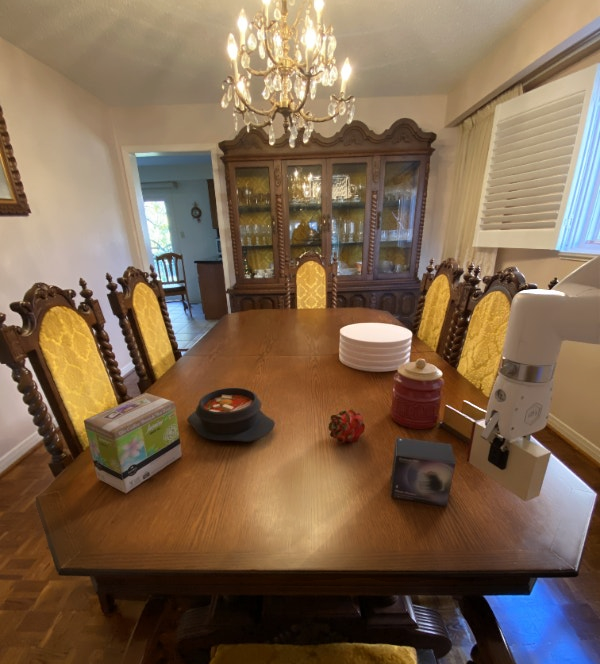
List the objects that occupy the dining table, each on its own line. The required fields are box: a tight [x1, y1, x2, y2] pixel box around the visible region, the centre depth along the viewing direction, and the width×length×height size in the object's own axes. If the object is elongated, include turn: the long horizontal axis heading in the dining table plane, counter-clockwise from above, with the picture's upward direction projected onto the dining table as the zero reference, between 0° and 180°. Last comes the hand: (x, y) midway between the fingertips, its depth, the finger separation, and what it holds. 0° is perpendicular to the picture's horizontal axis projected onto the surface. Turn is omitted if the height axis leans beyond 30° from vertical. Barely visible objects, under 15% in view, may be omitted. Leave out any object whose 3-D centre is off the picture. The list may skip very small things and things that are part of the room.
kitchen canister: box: [390, 358, 446, 430], centre depth 93 cm, size 13×13×18 cm
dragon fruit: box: [327, 409, 366, 444], centre depth 87 cm, size 8×8×12 cm
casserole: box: [186, 387, 276, 443], centre depth 92 cm, size 25×19×8 cm
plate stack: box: [338, 322, 413, 373], centre depth 139 cm, size 28×28×12 cm
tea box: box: [83, 392, 183, 494], centre depth 75 cm, size 15×10×15 cm, turn 151°
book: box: [465, 418, 552, 502], centre depth 63 cm, size 4×12×9 cm, turn 23°
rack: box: [438, 400, 487, 446], centre depth 87 cm, size 9×14×6 cm, turn 23°
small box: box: [390, 437, 457, 508], centre depth 67 cm, size 11×6×10 cm, turn 76°
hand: (504, 461), depth 63 cm, fingers closed on book, 3 cm apart
